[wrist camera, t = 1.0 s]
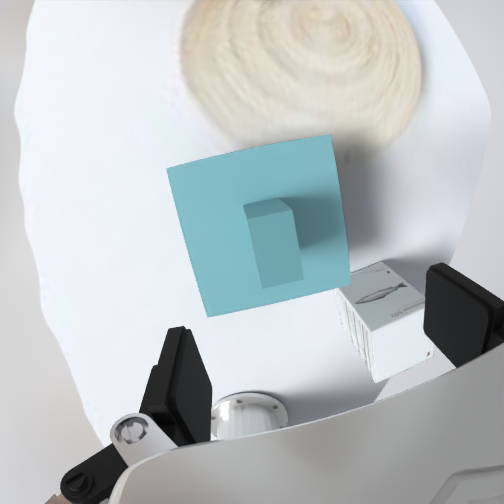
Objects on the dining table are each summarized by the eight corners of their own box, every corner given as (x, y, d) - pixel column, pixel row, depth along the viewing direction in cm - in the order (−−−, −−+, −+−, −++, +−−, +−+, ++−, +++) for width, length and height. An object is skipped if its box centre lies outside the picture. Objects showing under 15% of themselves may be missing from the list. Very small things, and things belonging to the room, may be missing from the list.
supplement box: (381, 259, 37) (437, 301, 25) (387, 307, 39) (435, 358, 27) (329, 277, 37) (370, 331, 25) (339, 325, 39) (376, 386, 27)
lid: (342, 274, 31) (377, 313, 23) (209, 305, 31) (203, 355, 23) (322, 136, 26) (358, 129, 18) (171, 167, 26) (147, 172, 18)
